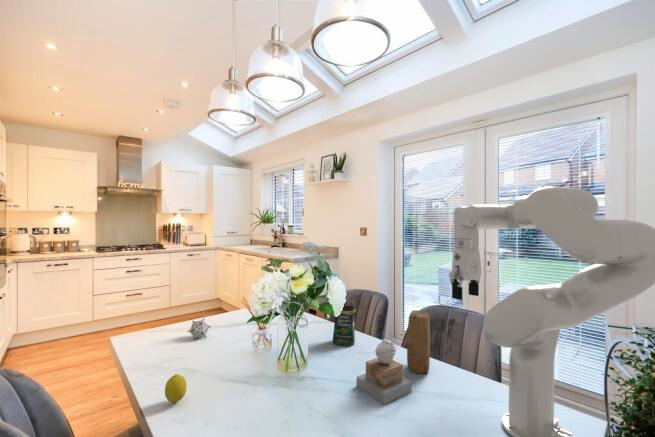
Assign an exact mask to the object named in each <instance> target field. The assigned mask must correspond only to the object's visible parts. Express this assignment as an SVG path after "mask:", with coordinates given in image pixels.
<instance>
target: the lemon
mask: <svg viewBox="0 0 655 437" xmlns="http://www.w3.org/2000/svg"><path fill="white" fill-rule="evenodd" d="M186 392H187V380H186V378H185V377H184V376H183V375H181V374H177V373H175V374H174V375H173V376H170V378H169V379H168V380H167V381H166V384H165V387H164V396H165V398H166V400H167V401H168V402H170V403H174V404H176V403H178V402H179V401H181V400H182V399H183V398H184V397H185V395H186Z"/></svg>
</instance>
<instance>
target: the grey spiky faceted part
mask: <svg viewBox="0 0 655 437" xmlns="http://www.w3.org/2000/svg"><path fill="white" fill-rule="evenodd" d="M191 322H192V324H191V327H190V329H189V330H188V331H187V332H188V333H190V334H191V336H192V337H193V340H194V341H196V339H199V338H203V337H204V338H207V336H206V335H207V333H208V330H209V329H210V328H211V327H212V326H211V325H209V324H207V322H206V321H205V318H202V319H201V320H196V321H194V319H193V320H191Z"/></svg>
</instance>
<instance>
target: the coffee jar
mask: <svg viewBox="0 0 655 437" xmlns="http://www.w3.org/2000/svg"><path fill="white" fill-rule="evenodd" d="M345 300H346V302H345V304H344V307H343V310H342V312H341V314H340V316H338V317H335V316H334V325H333V326H334V327H333V331H332V332H333V334H332V343H333V344H335V345H338V346H345V347H350V346H353V345H355V343H356V331H355V313H356V311H357V309H356V308H357V306H356V302H355V300H354V299H353V300H352V299H351V300H350V299H345Z"/></svg>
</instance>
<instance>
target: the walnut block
mask: <svg viewBox="0 0 655 437" xmlns="http://www.w3.org/2000/svg"><path fill="white" fill-rule="evenodd" d="M403 366H404V365H403V364H401V363H400V362H397V361H395V360H394V359H392V361H391V362H390V363H388V364H383V363H381V362H380V361H379V360H378V358H377V357H376V358H373V359H370V360H367V361H365V374H366V378H367V379H369V380H370V381H372V382H374V383H375V384H377V385H379V386H380V387H382V388H384V389H385V388H387V387H390V386H392V385H394V384H397V383H399V382H401V381H402V377H403Z"/></svg>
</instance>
